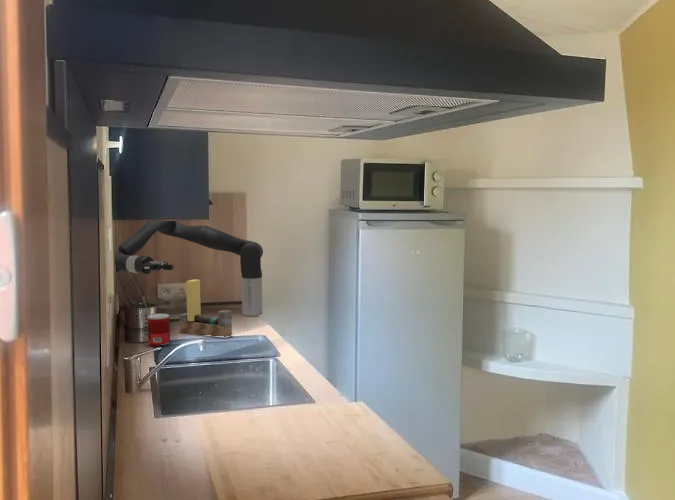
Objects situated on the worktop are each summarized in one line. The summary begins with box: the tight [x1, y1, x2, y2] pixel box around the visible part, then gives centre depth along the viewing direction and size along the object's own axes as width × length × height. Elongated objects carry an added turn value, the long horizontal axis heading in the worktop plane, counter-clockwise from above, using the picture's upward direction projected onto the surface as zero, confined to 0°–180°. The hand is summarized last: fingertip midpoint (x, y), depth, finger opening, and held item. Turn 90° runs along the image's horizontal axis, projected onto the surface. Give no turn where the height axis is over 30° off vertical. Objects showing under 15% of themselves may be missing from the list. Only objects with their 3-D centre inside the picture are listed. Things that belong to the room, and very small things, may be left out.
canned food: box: [147, 313, 171, 347], centre depth 251 cm, size 8×8×11 cm
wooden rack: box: [178, 309, 233, 337], centre depth 266 cm, size 23×4×10 cm, turn 63°
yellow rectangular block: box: [186, 278, 202, 321], centre depth 268 cm, size 3×5×16 cm, turn 153°
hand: (171, 267), depth 271 cm, fingers closed
